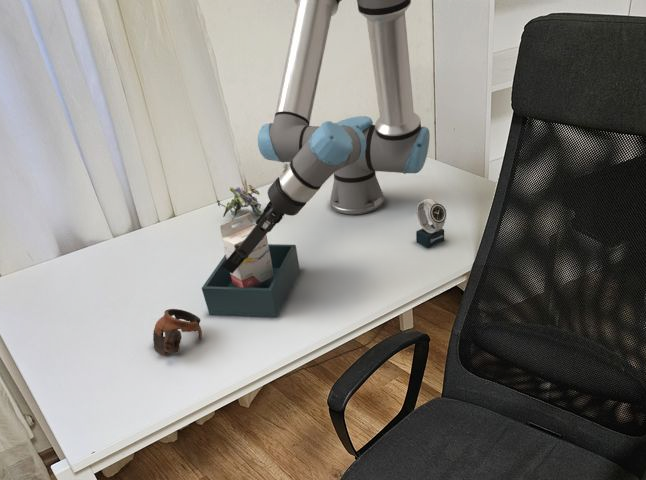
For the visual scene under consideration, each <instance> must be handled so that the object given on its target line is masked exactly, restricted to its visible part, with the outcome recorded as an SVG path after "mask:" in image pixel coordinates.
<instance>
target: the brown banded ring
mask: <svg viewBox="0 0 646 480" xmlns="http://www.w3.org/2000/svg"><path fill="white" fill-rule="evenodd" d="M163 314H164V315H163V316H162V317H160V318H159V319H158V320H157V321H156V323H155V324H154V328H153V334H152V335H153V336H152V341H153V349H154V351H155V352H156V353H158V354H159V355H161V356H163V357H166V356H167V353H169V354H171V355H173V354H177V353H180V352H179V350H180V344H181V342H182V341H181V340H182V333H187V332H188V333H191V332H197V333H198V341H201V340H202V338H203V330H202V327H201V324H200V323H201V319H200V317H199V316H197V314H194V313H192V312H190V311H186V310H184V309H178V308H169V309H166V310H165V311H164V313H163ZM180 330H181V331H180ZM181 332H182V333H181Z"/></svg>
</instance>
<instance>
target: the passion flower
mask: <svg viewBox="0 0 646 480" xmlns="http://www.w3.org/2000/svg"><path fill="white" fill-rule="evenodd" d="M248 189H249V191H250V192H248V191H247V190H246V189H244V188H242V187H241V188H240V187H237V186H236V187H235V188H234V187H232V186H229V191H230V192H231V193H232V194H233V198H232V199H231V201H230V202H229V201H228V202H227V203H226V205H224V204H222V203H221V201H220V200H216V203H217V206H218V207H221V206H222V207H224V208H225V209H224V213H223V216H222V217H223V218H225V217H226V215H227V214H228V212H229V211H230V213H231V220H233V219H235V218H236V216H237V215H238V212H239V211H241V209H242V208H247V207H249V206H250V207H251V210H252V212H253V214H255V216H257V217H260V215H261V214H262V213H263V212H262V211H263V210H261V207H262V204H261V203H260V202H259V201H258V198H257V197H256V196H254V195H253V194H255V195H258V196H259V195H260V192H259V190H257V189H256V188H254V187H253V186H252V185H251V184H248Z"/></svg>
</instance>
